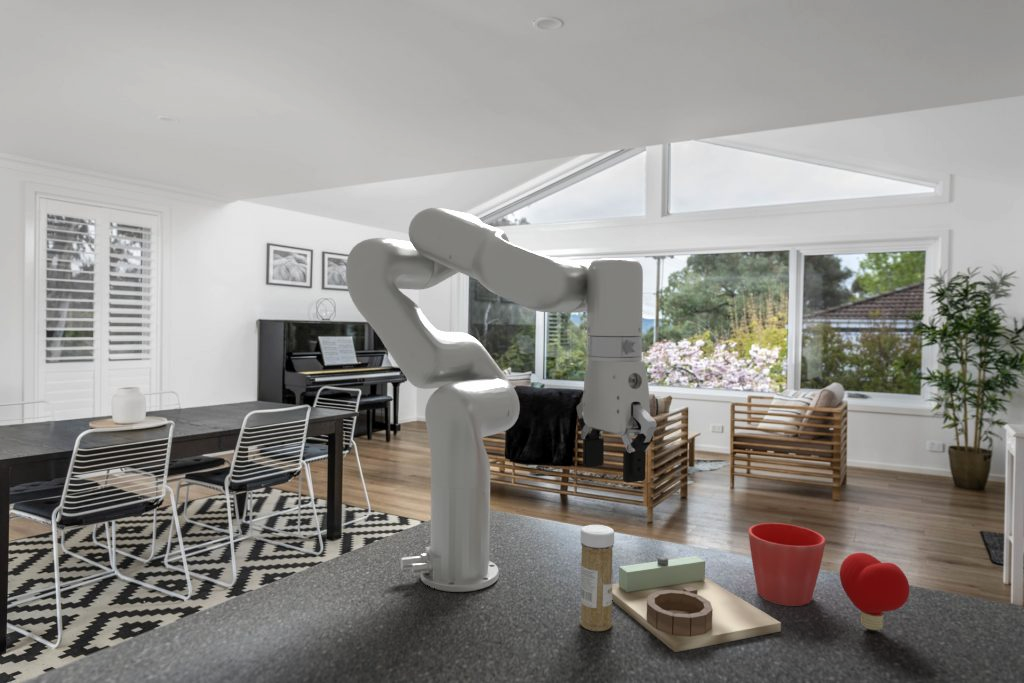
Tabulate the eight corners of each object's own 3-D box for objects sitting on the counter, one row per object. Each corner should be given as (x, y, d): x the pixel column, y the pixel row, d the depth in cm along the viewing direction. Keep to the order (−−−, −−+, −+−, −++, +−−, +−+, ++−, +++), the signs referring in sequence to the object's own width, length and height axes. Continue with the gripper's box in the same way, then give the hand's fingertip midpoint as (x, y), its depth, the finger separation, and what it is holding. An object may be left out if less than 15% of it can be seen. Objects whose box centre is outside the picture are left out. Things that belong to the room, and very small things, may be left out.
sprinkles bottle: (617, 630, 91) (620, 532, 90) (586, 634, 89) (588, 535, 89) (604, 615, 95) (606, 522, 95) (574, 619, 94) (575, 524, 93)
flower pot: (832, 614, 96) (834, 548, 96) (752, 607, 99) (753, 542, 98) (814, 585, 107) (816, 525, 106) (742, 579, 109) (743, 520, 109)
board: (673, 652, 85) (674, 624, 85) (601, 593, 103) (601, 569, 103) (780, 631, 91) (781, 604, 91) (695, 578, 109) (696, 556, 109)
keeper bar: (626, 592, 100) (627, 567, 100) (618, 585, 102) (619, 561, 102) (704, 580, 105) (705, 556, 105) (695, 574, 107) (696, 550, 107)
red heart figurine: (824, 620, 95) (827, 550, 94) (860, 612, 97) (862, 544, 97) (884, 651, 86) (887, 575, 86) (921, 641, 89) (924, 567, 88)
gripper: (677, 352, 86) (675, 484, 86) (601, 346, 101) (600, 458, 102) (629, 353, 82) (627, 491, 83) (558, 347, 98) (557, 463, 99)
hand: (612, 473), depth 92 cm, fingers open, 9 cm apart
